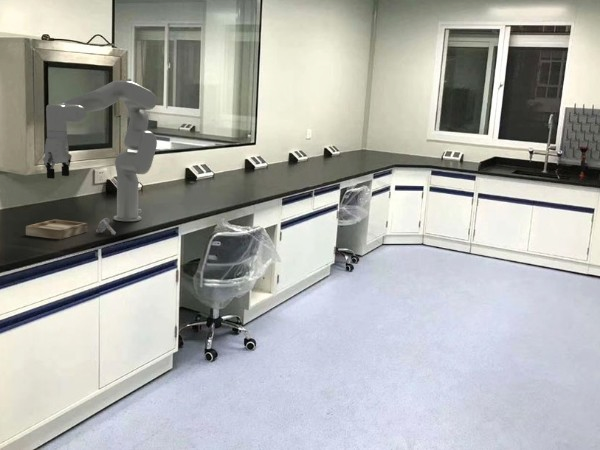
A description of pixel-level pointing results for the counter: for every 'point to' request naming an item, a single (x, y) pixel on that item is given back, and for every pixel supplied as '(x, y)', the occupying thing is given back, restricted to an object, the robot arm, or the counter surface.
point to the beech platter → (56, 229)
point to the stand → (105, 226)
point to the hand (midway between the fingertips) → (58, 177)
